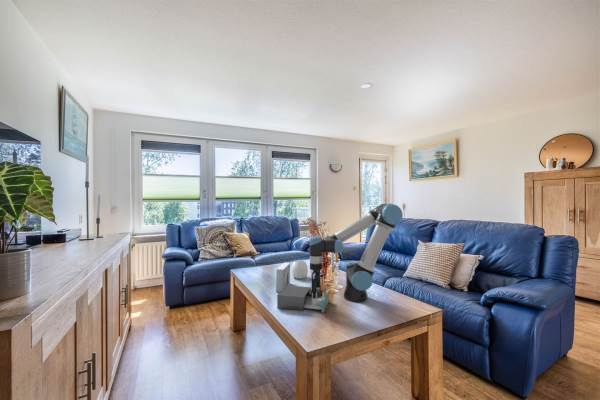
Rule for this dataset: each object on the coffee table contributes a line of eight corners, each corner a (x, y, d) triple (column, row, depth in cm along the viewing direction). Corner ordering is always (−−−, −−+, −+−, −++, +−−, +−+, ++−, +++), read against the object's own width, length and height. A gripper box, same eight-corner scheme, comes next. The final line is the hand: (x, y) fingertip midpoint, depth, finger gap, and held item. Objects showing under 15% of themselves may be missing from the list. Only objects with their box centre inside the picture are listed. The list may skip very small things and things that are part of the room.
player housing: (310, 299, 168) (310, 287, 168) (303, 311, 151) (303, 297, 151) (287, 297, 173) (286, 285, 173) (277, 308, 155) (277, 294, 155)
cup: (291, 275, 223) (291, 259, 223) (306, 275, 224) (306, 259, 224) (292, 280, 210) (292, 263, 210) (309, 279, 211) (308, 262, 211)
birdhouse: (328, 301, 165) (328, 290, 165) (323, 312, 148) (323, 300, 148) (304, 299, 169) (304, 288, 169) (297, 310, 152) (296, 298, 152)
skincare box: (283, 292, 183) (283, 269, 183) (275, 292, 184) (275, 269, 184) (290, 283, 203) (290, 262, 203) (283, 282, 204) (283, 262, 204)
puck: (311, 292, 163) (311, 288, 163) (323, 293, 161) (323, 289, 161) (308, 296, 156) (308, 292, 156) (321, 298, 154) (321, 293, 154)
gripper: (313, 258, 169) (313, 294, 169) (305, 266, 149) (305, 306, 149) (325, 259, 167) (325, 295, 167) (318, 267, 147) (318, 308, 147)
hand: (316, 300), depth 158 cm, fingers closed on puck, 7 cm apart
